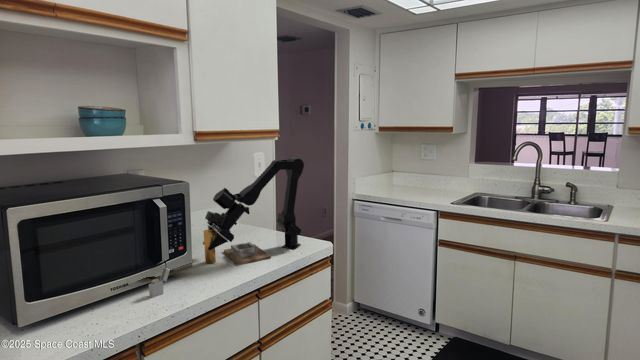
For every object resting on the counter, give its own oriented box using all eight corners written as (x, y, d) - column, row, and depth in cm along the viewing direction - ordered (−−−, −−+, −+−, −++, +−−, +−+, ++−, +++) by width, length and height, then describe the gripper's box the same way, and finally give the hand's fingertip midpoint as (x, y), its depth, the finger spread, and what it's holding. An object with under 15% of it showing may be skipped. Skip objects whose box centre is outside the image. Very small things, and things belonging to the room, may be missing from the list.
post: (209, 259, 163) (207, 228, 161) (217, 261, 161) (216, 229, 159) (203, 263, 159) (201, 231, 157) (211, 264, 158) (209, 232, 156)
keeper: (254, 246, 179) (254, 237, 178) (270, 258, 163) (270, 249, 163) (223, 252, 172) (223, 243, 171) (237, 265, 156) (237, 255, 156)
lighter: (152, 298, 129) (150, 274, 128) (149, 296, 130) (147, 273, 129) (171, 290, 135) (170, 267, 133) (168, 289, 136) (167, 266, 134)
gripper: (210, 199, 166) (185, 229, 163) (224, 208, 150) (196, 241, 147) (230, 215, 172) (205, 244, 168) (245, 225, 156) (218, 258, 152)
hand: (206, 246), depth 158 cm, fingers open, 7 cm apart
